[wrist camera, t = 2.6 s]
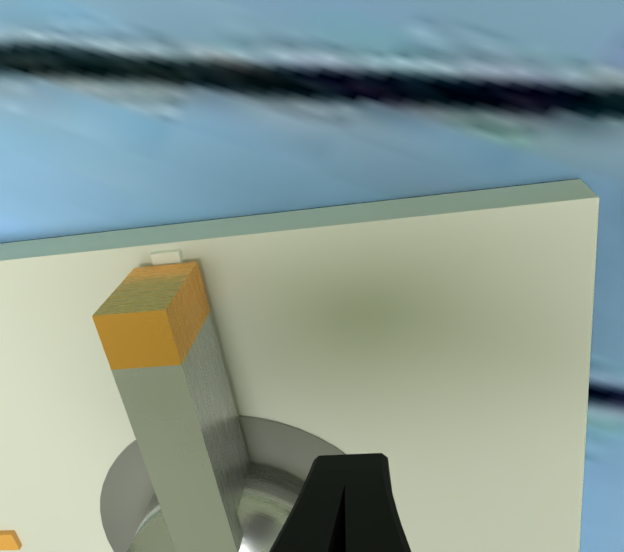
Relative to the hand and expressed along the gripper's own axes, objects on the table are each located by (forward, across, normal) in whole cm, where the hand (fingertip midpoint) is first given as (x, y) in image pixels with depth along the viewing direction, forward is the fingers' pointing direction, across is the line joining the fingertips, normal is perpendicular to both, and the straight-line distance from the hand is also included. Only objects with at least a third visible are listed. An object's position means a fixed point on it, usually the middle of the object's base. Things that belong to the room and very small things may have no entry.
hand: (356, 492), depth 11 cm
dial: (+5, +5, +4) cm, 8 cm away
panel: (+7, +5, +8) cm, 12 cm away
